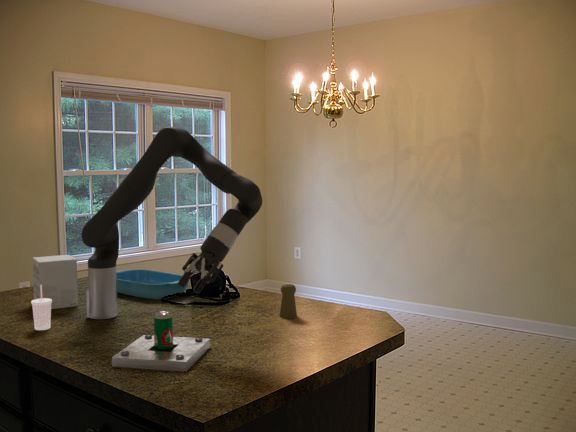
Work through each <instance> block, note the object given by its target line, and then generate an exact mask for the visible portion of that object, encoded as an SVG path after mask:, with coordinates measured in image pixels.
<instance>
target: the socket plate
mask: <svg viewBox="0 0 576 432" xmlns="http://www.w3.org/2000/svg"><path fill="white" fill-rule="evenodd" d="M210 348H211V339H210V338H203V337H188V336H187V337H186V336H185V337H184V336H181V337H180V336H173V350H172V351H171V352H162V351H154V334H153V335H152V334H143V335H142V336H140V337H139V338H137V339H135V340H133V342H132V343H130V344H128V345H127V346H126V347H124V348H122V349H121V350H120V351H119V352H117V353H115V355H113V356H112V357H111V367H112V368H127V369H141V370H144V369H145V370H157V371H169V372H171V371H172V372H174V371H175V372H184V371H186V372H188V371H189V369H190V368H191V367H192V366H193V365H194V364H195V363H196V362H197V361H198V360H199V359H200V358H201V357H202V356H203V355H205V353H206V352H207V351H208V350H209V349H210Z"/></svg>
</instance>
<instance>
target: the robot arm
mask: <svg viewBox="0 0 576 432" xmlns="http://www.w3.org/2000/svg"><path fill="white" fill-rule="evenodd" d="M172 157H173V158H181V159H184V160H186V161H188V162H189V163H191V164H192V165H194V166H195V167H196V168H197V169H198V170H199V171H200V172H201V174H202V175H203V176H204V178H205V179H206V180H207V181H208V182H209V183H211V184H212V185H213V186H215V187H216V188H217V189H218V190H220V191H221V192H223V193H225V194H226V195H232V196H233V197H235V199H237V201H238V202H237V204H236V205H235V206H234V207H233V208H229V209H227V210H226V211H225V212H224V214H223V215H222V217H221V218H220V219H219V221H218V223H217V224H216V225H215V226H214V227H213V228H212V230H211V231H210V233H208V235H207V237H206V238H205V240H204V241H203V243H202V244H201V246H200V251H201V252H200V253H199V254H198V255H197V254H196V253H195V252H194V253H192V254H191V255H190V256H189V258H188V260H187V261H186V262H185V263H184V265H183V266H182V268H181V269H182V271H183V274H182V275H183V276H182V277H181V279H180V280H179V282H178V285H179V286H181V287H183V288H184V287H185V285H186V284H187V282H188V281H190V279H191V277H192V276H194V275H196V274H199V273H201V275H200V278H199V279H198V281H197V282H196V284H194V287H193V288H192V291H193V292H194V293H196V294H197V295H199V294H200V293H201V292H202V291H203V289H204V288H205V286H206V285H207V284H209V283H214V282H215V280H216V279H217V277H218V275H219V274H220V272H221V271H222V269H223V268H224V264H223V263H222V262H223V261H224V259H225V258H226V256H228V254H229V252H230V250H231V249H232V248H233V246H234V244H235V243H236V242H237V241H236V240H237V238H239V235H240V234H241V232H242V231H243V229H244V228H245V226H246V224H248V223H249V222H250V221H251V220H252V219H253V218H254V217H255V216H256V215H257V214H258V213H259V212H260V209H261V207H262V205H263V197H262V193H261V189H260V187H259V186H258V185H257V184H256V183H255V182H254V181H253V180H251V179H249V178H247V177H245V176H243V175H241V174H238V173H237V172H235V171H234V170H233V169H231V168H230V167H229V166H227V165H226V164H225V163H223V162H222V161H220V160H219V158H216V157H215V156H214V155H212V154H211V153H210V152H209V151H208V150H207V149H206V148H205V147H204V146H203V145H202V144H201V143H199V141H198V140H197V139H196V138H195V137H194V136H193V135H192V134H191V133H190V132H189V131H188V130H187V129H186V128H182V127H175V126H165V127H163V128H161V129H160V130H158V132H157V133H156V135H155V136H154V137H153V139H152V141H151V142H150V144H149V146H148V148H146V151H144V153H143V155H142V156H141V157H140V159H139V160H138V161H137V162H136V164H135V165H134V167H132V169H131V170H130V172H128V174H127V175H126V176H125V178H124V179H123V180H122V181H121V182H120V184H119V185H118V186H117V188H116V189H115V190H114V192H113V193H112V194H111V196H110V197H109V198H108V199H107V200H106V202H105V203H104V204H103V205H102V206H101V208H100V209H99V210H97V212H96V213H95V214H94V215H93V216H92V217H91V218H90V219H89V220H88V221H87V222H86V223H85V224H84V226H83V228H82V230H81V240H82V242H83V244H84V245H85V246H87V247H89V248H94V253H92V255H91V256H90V257H89V258H88V259H87V280H88V283H87V285H88V288H86V290H85V299H86V301H85V302H86V303H85V304H86V318H87V319H88V318H89V319H92V320H93V319H94V320H107V319H112V318H115V317H117V316H118V293H117V274H116V271H117V262H118V261H117V260H118V258H119V253H120V251H119V247H120V233H119V227H118V225H117V223H118V222H119V221H121V220H122V219H123V218H125V217H126V216H127V215H130V213H132V212H133V211H135V210H136V209H138V208H139V207H140V206H141V205H142V204H143V203H144V201H145V200H146V199H147V198H148V197H149V196H150V194H151V193H152V191H153V189H154V187H155V183H156V179H157V176H158V172H159V171H160V169H161V168H162V167H163V166H164V165H165V163H166V162H167V161H168V160H169V159H170V158H172ZM188 283H189V282H188Z"/></svg>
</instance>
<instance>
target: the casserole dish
mask: <svg viewBox="0 0 576 432" xmlns="http://www.w3.org/2000/svg"><path fill="white" fill-rule="evenodd" d="M116 274H117V294H121V295H128V296H133V297H136V298H142V299H148V300H163V299H162V298H163V297H165V296H168V295H173V294H176V293H181V294H183V293H184V292H185V291H186V289H187V287H188V284H189V281H190V280H189V281H188V282H187V284H186V285H185V287H184V288H183V287H181V286H179V285H178V282H179V280H180V279H181V277H182V276H183V274H180V273H174V272H173V273H172V272H166V271H161V270H155V269H147V268H135V269H124V270H123V269H121V270H116ZM182 292H183V293H182Z"/></svg>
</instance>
